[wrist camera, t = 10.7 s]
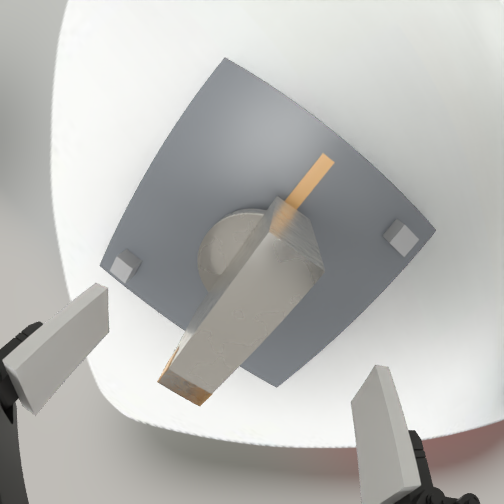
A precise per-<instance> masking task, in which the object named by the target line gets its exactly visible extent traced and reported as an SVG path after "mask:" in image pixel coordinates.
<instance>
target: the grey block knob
mask: <svg viewBox="0 0 504 504" xmlns="http://www.w3.org/2000/svg"><path fill="white" fill-rule="evenodd" d="M197 263H198V271H199V275H200V278H201V280H202V282H203V284H204V286H205V288H206V289H207V291H208V294H207V295H206V297H205V298H204V300H203V301H202V302H201V304H200V305H199V307H198V309H197V310H196V312H195V314H194V316H193V318H192V320H191V321H190V323H189V325H188V327H187V329H186V331H185V333H184V334H183V336H182V338H181V340H180V342H179V344H178V346H177V347H176V349H175V351H174V353H173V355H172V357H171V358H170V359H169V361H168V363H167V364H166V366H165V368H164V370H163V372H162V374H161V376H160V378H159V380H158V381H157V382H158V383H160V384H161V385H163V386H165V387H166V388H168V389H170V390H171V391H173V392H175V393H177V394H178V395H180V396H182V397H184V398H185V399H187V400H189V401H191V402H193V403H194V404H196V405H198V406H201V405H202V404H203V403H204V402H205V401H206V400H207V399H208V398H209V397H210V396H211V395H212V394H213V392H214V391H215V390H216V389H217V388H218V387H219V386H220V385H221V384H222V383H223V382H224V381H225V380H226V379H227V378H228V377H229V376H230V375H231V374H232V373H233V372H234V371H235V370H236V369H237V368H238V367H239V366H240V365H241V364H242V363H243V362H244V361H245V360H246V359H247V358H248V357H249V356H250V355H251V354H252V353H253V352H254V351H255V350H256V349H257V347H258V346H259V345H260V344H261V343H262V342H263V341H264V340H265V339H266V338H267V337H268V336H269V335H270V334H271V333H272V331H273V330H274V329H275V328H276V327H277V326H278V325H279V324H280V323H281V322H282V321H283V320H284V318H285V317H286V316H287V315H288V314H289V313H290V312H291V311H292V310H293V308H294V307H295V306H296V305H297V304H298V303H299V302H300V301H301V299H302V298H303V297H304V296H305V295H306V294H307V293H308V291H309V290H310V289H311V288H312V287H313V286H314V284H315V283H316V282H317V281H318V280H319V279H320V277H321V276H322V275H323V274H324V273H325V269H324V265H323V261H322V258H321V255H320V251H319V248H318V244H317V241H316V238H315V234H314V231H313V228H312V224H311V221H310V219H309V218H307V217H306V216H305V215H303V214H302V213H300V212H299V211H298V210H296V209H295V208H294V207H292V206H291V205H289V204H288V203H287V202H285V201H284V200H282V199H281V198H279V197H278V196H277V197H276V198H275V199H274V201H273V202H272V204H271V205H270V206H269V208H268V209H267V211H265V210H261V209H242V210H237V211H234V212H232V213H229V214H228V215H226V216H224V217H223V218H222V219H220V220H219V221H218V222H217V223H216V224H215V225H214V226H213V227H212V228H211V229H210V230H209V231H208V233H207V234H206V235H205V237H204V239H203V240H202V242H201V245H200V248H199V252H198V259H197Z"/></svg>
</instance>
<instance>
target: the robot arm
mask: <svg viewBox="0 0 504 504" xmlns="http://www.w3.org/2000/svg"><path fill="white" fill-rule="evenodd" d="M108 333H109V316H108V288H107V287H105V286H102V285H100V284H97V283H95V284H94V285H92V286H91V287H90V288H88V289H87V290H86V291H84V292H83V293H82V294H81V295H79V296H78V297H77V298H75V299H74V300H73V301H72V302H70V303H69V304H68V305H67V306H65V307H64V308H63V309H62V310H60V311H59V312H58V313H57V314H55V315H54V316H53V317H52V318H50V319H49V320H48V321H47V322H46V323H44V324H42V323H41V322H36V323H34V324H31V325H29V326H28V327H26V328H25V329H24V330H23V331H22V332H21V333H19V334H18V335H17V336H16V338H13V339H12V340H11V341H10V342H9V343H7V344H6V345H5V346H4V347H3V348H1V349H0V504H29V502H28V498H27V493H26V489H25V484H24V478H23V472H22V467H21V459H20V452H19V442H18V429H17V408H16V403H15V401H16V400H17V399H18V398H19V400H20V402H21V404H22V406H23V407H25V408H26V409H27V410H28V411H30V412H31V413H32V414H34V415H35V416H36V415H37V413H38V412H39V411H40V410H41V409H42V407H43V406H44V405H45V404H46V403H47V401H48V400H49V399H50V398H51V397H52V395H53V394H54V393H55V392H56V391H57V390H58V389H59V387H60V386H61V385H62V384H63V382H65V380H66V379H67V378H68V377H69V376H70V375H71V373H72V372H73V371H74V370H75V369H76V368H77V367H78V366H79V364H80V363H81V362H82V361H83V360H84V359H85V358H86V357H87V356H88V354H89V353H90V352H91V351H92V350H93V349H94V348H95V347H96V346H97V345H98V343H99V342H100V341H101V340H102V339H103V338H104V337H105V336H106V335H107V334H108ZM351 407H352V414H353V421H354V429H355V437H356V446H357V455H358V465H359V476H360V488H361V504H480V502H479V499H478V498H477V497H476V495H474V494H472V493H467V494H465V495H463V496H462V497H460V498H459V499H456V498H449V497H445V496H444V493H443V492H442V491H441V490H440V489H438V488H436V487H433V484H432V480H431V476H430V472H429V468H428V464H427V460H426V458H425V457H426V456H425V452H424V451H423V445H422V441H421V439H420V437H419V436H418V434H417V433H416V431H415V430H408V428H407V424H406V421H405V417H404V414H403V411H402V407H401V404H400V401H399V397H398V394H397V391H396V388H395V385H394V382H393V378H392V375H391V372H390V369H389V367H385V366H380V365H375V366H374V368H373V369H372V371H371V373H370V374H369V376H368V377H367V379H366V380H365V382H364V383H363V385H362V386H361V388H360V389H359V391H358V392H357V394H356V395H355V397H354V398H353V400H352V401H351Z"/></svg>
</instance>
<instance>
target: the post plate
mask: <svg viewBox="0 0 504 504" xmlns="http://www.w3.org/2000/svg"><path fill="white" fill-rule="evenodd" d="M277 196H278V197H279V198H281V199H282V200H284V201H285V202H287V203H288V204H289V205H291V206H292V207H294V208H295V209H296V210H298V211H299V212H300V213H302V214H303V215H305V216H306V217H307V218H309V219H310V221H311V224H312V228H313V231H314V234H315V238H316V241H317V244H318V248H319V251H320V255H321V258H322V261H323V265H324V269H325V273H324V274H323V275H322V276H321V277H320V279H319V280H318V281H317V282H316V283H315V284H314V286H313V287H312V288H311V289H310V290H309V291H308V293H307V294H306V295H305V296H304V297H303V298H302V299H301V301H300V302H299V303H298V304H297V305H296V306H295V307H294V308H293V310H292V311H291V312H290V313H289V314H288V315H287V316H286V317H285V318H284V320H283V321H282V322H281V323H280V324H279V325H278V326H277V327H276V328H275V329H274V330H273V331H272V333H271V334H270V335H269V336H268V337H267V338H266V339H265V340H264V341H263V342H262V343H261V344H260V345H259V346H258V347H257V349H256V350H255V351H254V352H253V353H252V354H251V355H250V356H249V357H248V358H247V359H246V360H245V361H244V362H243V363H242V364H241V365H240V367H242V368H244V369H245V370H247V371H249V372H250V373H252V374H254V375H255V376H257V377H259V378H261V379H262V380H264V381H266V382H268V383H269V384H271V385H273V386H275V387H276V388H277V387H278V386H279V385H280V384H282V383H283V382H284V381H286V380H287V379H288V378H289V377H290V376H292V375H293V374H294V373H295V372H297V371H298V370H299V369H300V368H301V367H303V366H304V365H305V364H306V363H307V362H309V361H310V360H311V359H312V358H313V357H314V356H316V355H317V354H318V353H319V352H320V351H321V350H322V349H324V348H325V347H326V346H327V345H328V344H329V343H330V342H331V341H332V340H334V339H335V338H336V337H337V336H338V335H339V334H340V333H341V332H342V331H343V330H344V329H345V328H347V327H348V326H349V325H350V324H351V323H352V322H353V321H354V320H355V319H356V318H357V317H358V316H359V315H360V314H361V313H362V312H363V311H364V310H365V309H366V308H367V307H368V306H369V305H370V304H371V303H372V302H373V301H374V300H375V299H376V298H377V297H378V296H379V295H380V294H381V293H382V292H383V291H384V290H385V289H386V288H387V286H388V285H389V284H390V283H391V282H392V281H393V280H394V279H395V278H396V277H397V276H398V275H399V273H400V272H401V271H402V270H403V269H404V268H405V267H406V266H407V265H408V263H409V262H410V261H411V260H412V259H413V258H414V256H415V255H416V254H417V253H418V252H419V251H420V249H421V248H422V247H423V246H424V245H425V244H426V242H427V241H428V240H429V239H430V237H431V236H432V235H433V234H434V232H435V231H436V229H435V228H434V227H433V226H432V225H431V224H430V223H429V221H428V220H427V219H426V218H425V217H424V216H423V215H422V214H421V213H420V212H419V211H418V209H417V208H416V207H415V206H414V205H413V204H412V203H411V202H410V201H409V200H408V199H407V198H406V197H405V196H404V195H403V194H402V193H401V192H400V191H399V190H398V189H397V188H396V187H395V186H394V185H393V184H392V183H391V182H390V181H389V180H388V179H387V178H386V177H385V176H384V175H383V174H382V173H381V172H380V171H379V170H377V169H376V168H375V167H374V166H373V165H372V164H371V163H370V162H369V161H368V160H367V159H365V158H364V157H363V156H362V155H361V154H360V153H359V152H357V151H356V150H355V149H354V148H353V147H352V146H350V145H349V144H348V143H347V142H346V141H345V140H343V139H342V138H341V137H340V136H339V135H337V134H336V133H335V132H334V131H332V130H331V129H330V128H329V127H327V126H326V125H325V124H324V123H322V122H321V121H320V120H318V119H317V118H316V117H314V116H313V115H312V114H310V113H309V112H308V111H306V110H305V109H304V108H302V107H301V106H300V105H298V104H297V103H295V102H294V101H293V100H291V99H290V98H288V97H287V96H286V95H284V94H283V93H281V92H280V91H278V90H277V89H275V88H274V87H272V86H271V85H269V84H268V83H266V82H265V81H263V80H261V79H260V78H258V77H257V76H255V75H254V74H252V73H250V72H249V71H247V70H245V69H244V68H242V67H240V66H239V65H237V64H235V63H234V62H232V61H230V60H228V59H227V58H224V59H223V60H222V62H221V63H220V64H219V65H218V67H217V68H216V69H215V70H214V72H213V73H212V74H211V76H210V77H209V78H208V80H207V81H206V82H205V84H204V85H203V86H202V88H201V89H200V90H199V92H198V93H197V94H196V96H195V97H194V99H193V100H192V101H191V103H190V104H189V106H188V107H187V109H186V110H185V111H184V113H183V114H182V116H181V117H180V119H179V120H178V122H177V123H176V125H175V126H174V128H173V129H172V131H171V132H170V134H169V136H168V137H167V139H166V140H165V142H164V143H163V145H162V147H161V148H160V150H159V152H158V153H157V155H156V156H155V158H154V160H153V162H152V163H151V165H150V167H149V168H148V170H147V172H146V174H145V175H144V177H143V179H142V181H141V182H140V184H139V186H138V188H137V190H136V191H135V193H134V195H133V197H132V199H131V201H130V203H129V205H128V207H127V208H126V210H125V212H124V214H123V216H122V218H121V220H120V222H119V224H118V226H117V228H116V231H115V233H114V235H113V237H112V239H111V241H110V243H109V245H108V248H107V250H106V252H105V254H104V257H103V259H102V261H101V263H100V266H101V267H102V268H103V269H104V270H105V271H107V272H108V273H109V274H110V275H111V276H113V277H114V278H115V279H116V280H118V281H119V282H120V283H121V284H123V285H124V286H125V287H126V288H128V289H129V290H130V291H131V292H133V293H134V294H135V295H137V296H138V297H139V298H140V299H142V300H143V301H144V302H146V303H147V304H148V305H150V306H151V307H152V308H154V309H155V310H157V311H158V312H159V313H161V314H162V315H163V316H165V317H166V318H168V319H169V320H170V321H172V322H173V323H175V324H176V325H177V326H179V327H180V328H182V329H183V330H185V331H186V329H187V327H188V325H189V323H190V321H191V320H192V318H193V316H194V314H195V312H196V310H197V309H198V307H199V305H200V304H201V302H202V301H203V300H204V298H205V297H206V295H207V294H208V291H207V289H206V288H205V286H204V284H203V282H202V280H201V278H200V275H199V271H198V263H197V259H198V252H199V248H200V245H201V242H202V240H203V239H204V237H205V235H206V234H207V233H208V231H209V230H210V229H211V228H212V227H213V226H214V225H215V224H216V223H217V222H218V221H219V220H220V219H222V218H223V217H224V216H226V215H228V214H229V213H232V212H234V211H237V210H242V209H261V210H265V211H267V209H268V208H269V206H270V205H271V204H272V202H273V201H274V199H275V198H276V197H277Z"/></svg>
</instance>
